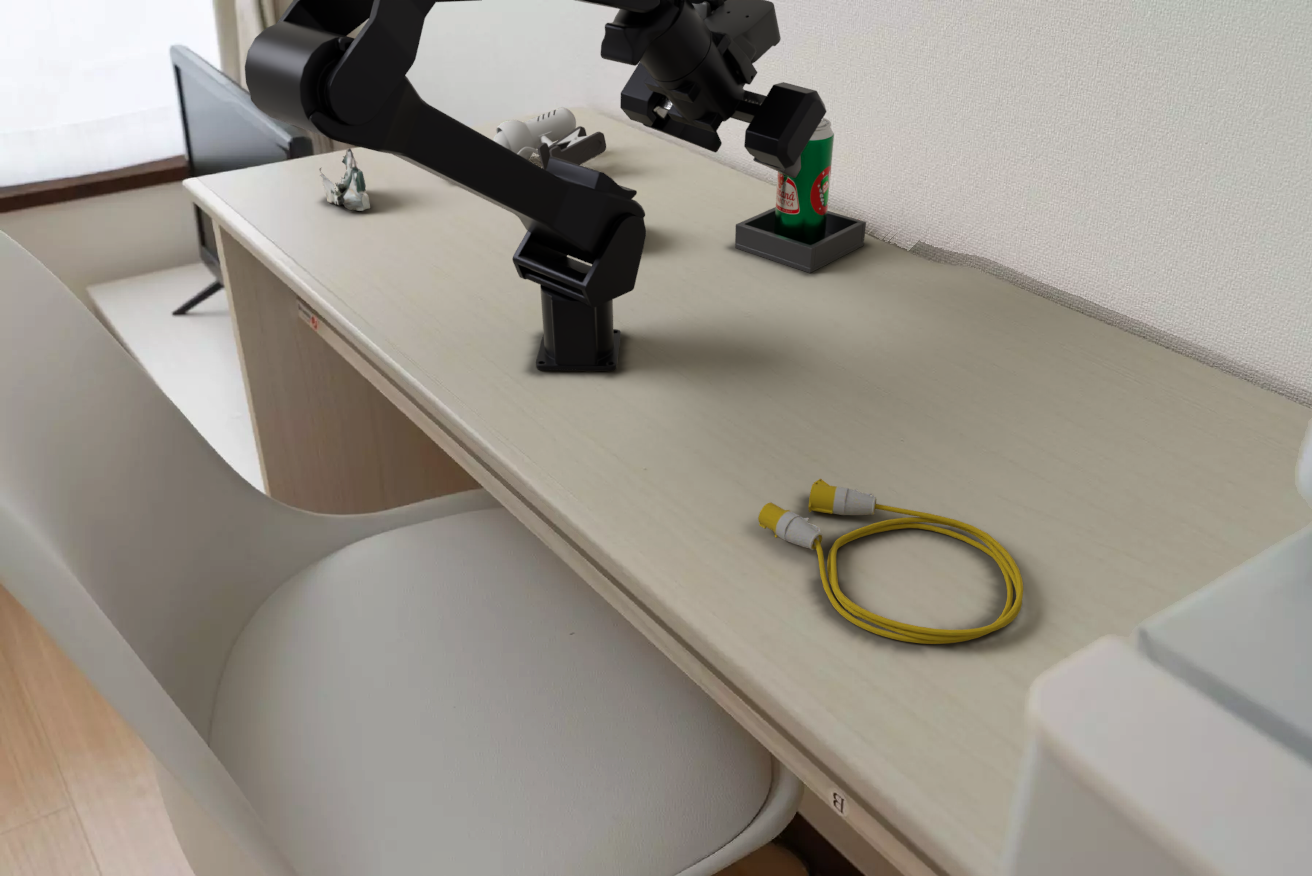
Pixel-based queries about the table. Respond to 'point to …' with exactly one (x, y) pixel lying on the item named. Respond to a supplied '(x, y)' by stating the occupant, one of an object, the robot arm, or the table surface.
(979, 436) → the table surface
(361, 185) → the grey green figurine
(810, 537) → the extension cord
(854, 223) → the square tray
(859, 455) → the table surface
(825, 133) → the soda can
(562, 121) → the clip-on lamp
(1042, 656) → the table surface
